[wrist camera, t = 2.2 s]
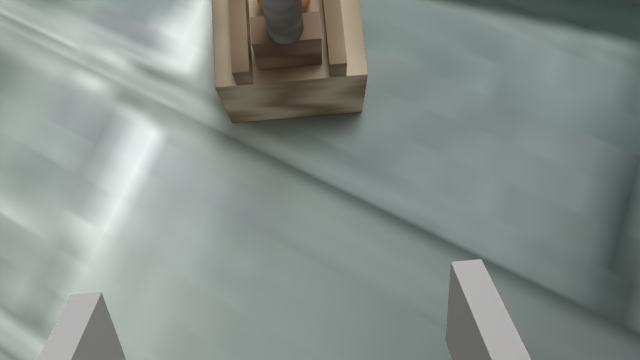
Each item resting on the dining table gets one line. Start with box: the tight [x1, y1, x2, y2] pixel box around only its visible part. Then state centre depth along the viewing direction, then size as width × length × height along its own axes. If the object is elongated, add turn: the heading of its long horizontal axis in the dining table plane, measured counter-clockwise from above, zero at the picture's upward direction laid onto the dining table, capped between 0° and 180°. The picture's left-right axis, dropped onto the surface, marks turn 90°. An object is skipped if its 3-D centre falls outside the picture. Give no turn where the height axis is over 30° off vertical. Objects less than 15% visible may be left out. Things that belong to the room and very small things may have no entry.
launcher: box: [212, 0, 368, 123], centre depth 42 cm, size 11×12×9 cm
